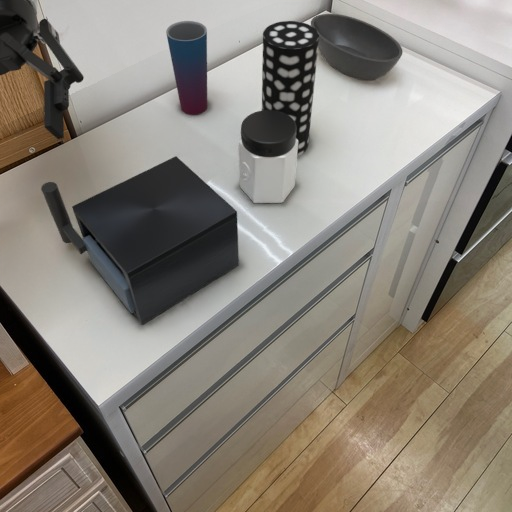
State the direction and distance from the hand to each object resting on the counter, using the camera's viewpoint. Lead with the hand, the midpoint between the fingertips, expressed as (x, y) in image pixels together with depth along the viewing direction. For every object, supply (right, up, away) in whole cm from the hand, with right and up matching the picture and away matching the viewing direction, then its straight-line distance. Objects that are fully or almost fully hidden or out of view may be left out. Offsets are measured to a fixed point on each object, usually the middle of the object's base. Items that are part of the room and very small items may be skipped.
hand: (2, 147), depth 63 cm
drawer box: (+17, -14, +13) cm, 26 cm away
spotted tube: (+35, +7, +31) cm, 47 cm away
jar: (+32, -2, +24) cm, 40 cm away
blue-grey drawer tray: (+13, -12, +13) cm, 22 cm away
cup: (+18, +15, +38) cm, 45 cm away
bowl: (+50, +27, +48) cm, 74 cm away
